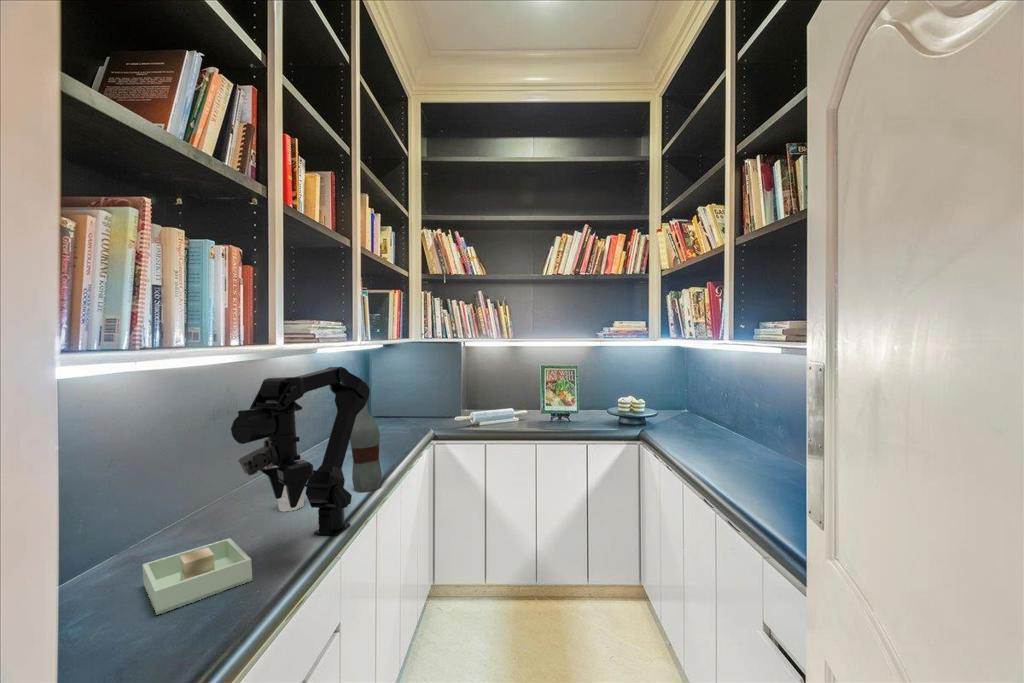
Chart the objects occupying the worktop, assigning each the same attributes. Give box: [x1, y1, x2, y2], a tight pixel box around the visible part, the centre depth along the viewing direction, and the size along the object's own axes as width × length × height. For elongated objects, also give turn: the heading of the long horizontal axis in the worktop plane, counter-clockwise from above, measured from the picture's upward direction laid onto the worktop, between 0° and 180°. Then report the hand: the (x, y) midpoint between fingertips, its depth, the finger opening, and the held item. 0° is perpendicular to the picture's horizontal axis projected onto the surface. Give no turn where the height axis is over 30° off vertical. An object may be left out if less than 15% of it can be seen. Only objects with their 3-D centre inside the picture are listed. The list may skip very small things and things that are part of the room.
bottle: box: [349, 401, 383, 493], centre depth 152 cm, size 9×9×30 cm
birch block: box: [179, 548, 215, 581], centre depth 95 cm, size 5×5×5 cm
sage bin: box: [142, 537, 253, 616], centre depth 95 cm, size 16×16×4 cm
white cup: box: [276, 486, 306, 513], centre depth 137 cm, size 8×8×10 cm
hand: (285, 502), depth 105 cm, fingers open, 9 cm apart
